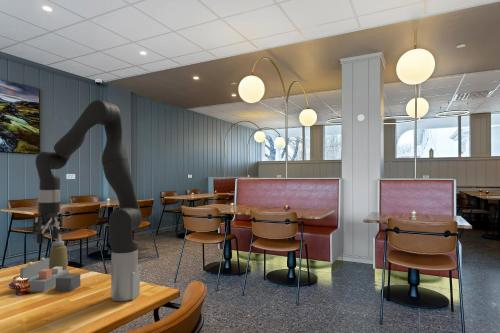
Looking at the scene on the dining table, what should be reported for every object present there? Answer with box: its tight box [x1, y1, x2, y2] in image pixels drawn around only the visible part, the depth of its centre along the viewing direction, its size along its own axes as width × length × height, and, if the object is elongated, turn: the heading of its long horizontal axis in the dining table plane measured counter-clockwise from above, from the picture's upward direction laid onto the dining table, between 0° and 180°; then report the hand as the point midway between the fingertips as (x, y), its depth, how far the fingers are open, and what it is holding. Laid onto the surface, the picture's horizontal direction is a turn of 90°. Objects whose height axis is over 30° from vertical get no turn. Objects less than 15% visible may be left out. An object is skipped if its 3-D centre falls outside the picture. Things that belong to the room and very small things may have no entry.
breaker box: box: [19, 257, 70, 293], centre depth 130 cm, size 10×15×10 cm
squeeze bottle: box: [48, 233, 69, 270], centre depth 147 cm, size 8×8×18 cm
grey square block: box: [54, 272, 82, 292], centre depth 126 cm, size 7×7×5 cm
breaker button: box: [39, 269, 52, 279], centre depth 127 cm, size 3×3×4 cm
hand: (47, 240), depth 127 cm, fingers open, 8 cm apart
